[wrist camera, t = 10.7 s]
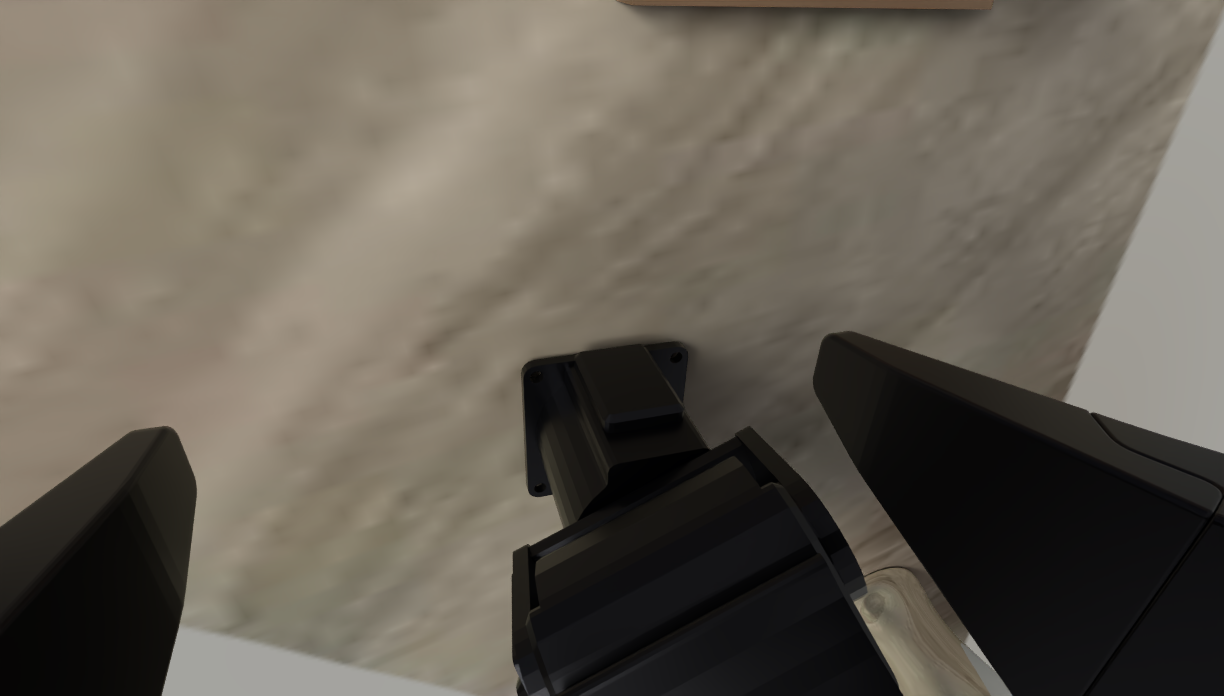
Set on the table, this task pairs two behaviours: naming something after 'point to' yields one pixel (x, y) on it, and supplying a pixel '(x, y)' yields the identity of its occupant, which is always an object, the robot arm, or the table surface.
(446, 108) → the table surface
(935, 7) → the square wooden board
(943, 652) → the beer glass
